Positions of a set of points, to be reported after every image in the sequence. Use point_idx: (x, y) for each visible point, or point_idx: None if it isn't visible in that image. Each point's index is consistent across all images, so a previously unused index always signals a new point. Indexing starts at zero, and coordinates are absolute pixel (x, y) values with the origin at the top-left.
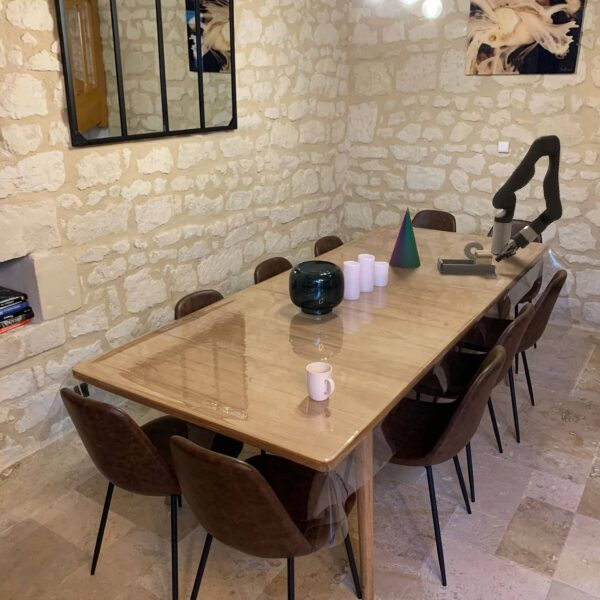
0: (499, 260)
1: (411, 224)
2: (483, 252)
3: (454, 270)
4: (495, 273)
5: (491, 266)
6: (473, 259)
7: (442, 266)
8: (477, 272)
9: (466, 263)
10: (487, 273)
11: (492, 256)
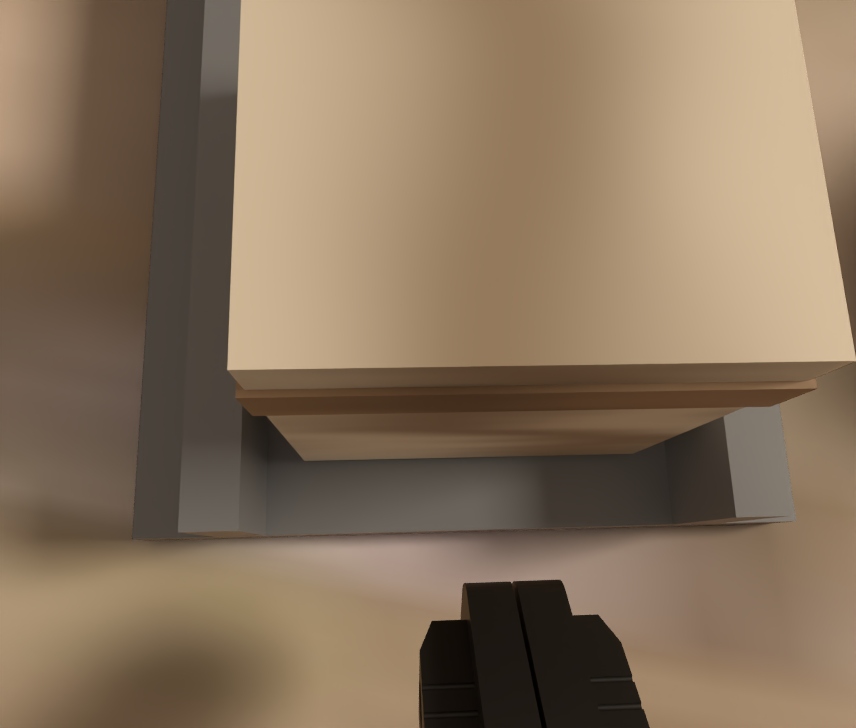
0: (419, 705)
1: None
2: (474, 66)
3: None
4: (137, 537)
5: (191, 427)
6: None
7: None
8: (159, 164)
9: None
10: (151, 365)
11: (237, 393)
